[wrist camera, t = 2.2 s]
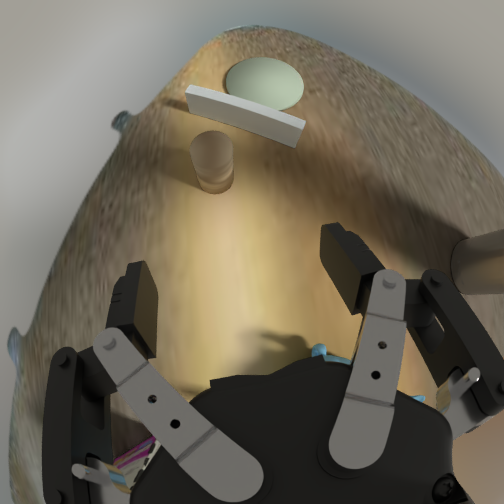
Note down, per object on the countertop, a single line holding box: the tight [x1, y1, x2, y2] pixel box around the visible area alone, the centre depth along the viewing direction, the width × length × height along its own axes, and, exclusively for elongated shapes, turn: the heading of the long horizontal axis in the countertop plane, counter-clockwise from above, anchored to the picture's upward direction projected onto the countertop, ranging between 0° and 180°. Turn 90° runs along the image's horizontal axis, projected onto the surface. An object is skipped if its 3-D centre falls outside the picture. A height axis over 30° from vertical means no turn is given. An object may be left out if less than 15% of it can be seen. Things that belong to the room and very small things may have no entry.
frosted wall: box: [185, 85, 306, 148], centre depth 34 cm, size 16×2×5 cm, turn 68°
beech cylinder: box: [190, 131, 233, 194], centre depth 31 cm, size 4×4×8 cm
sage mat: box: [226, 57, 304, 111], centre depth 37 cm, size 12×12×1 cm
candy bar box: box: [113, 436, 161, 490], centre depth 21 cm, size 11×5×16 cm, turn 131°
